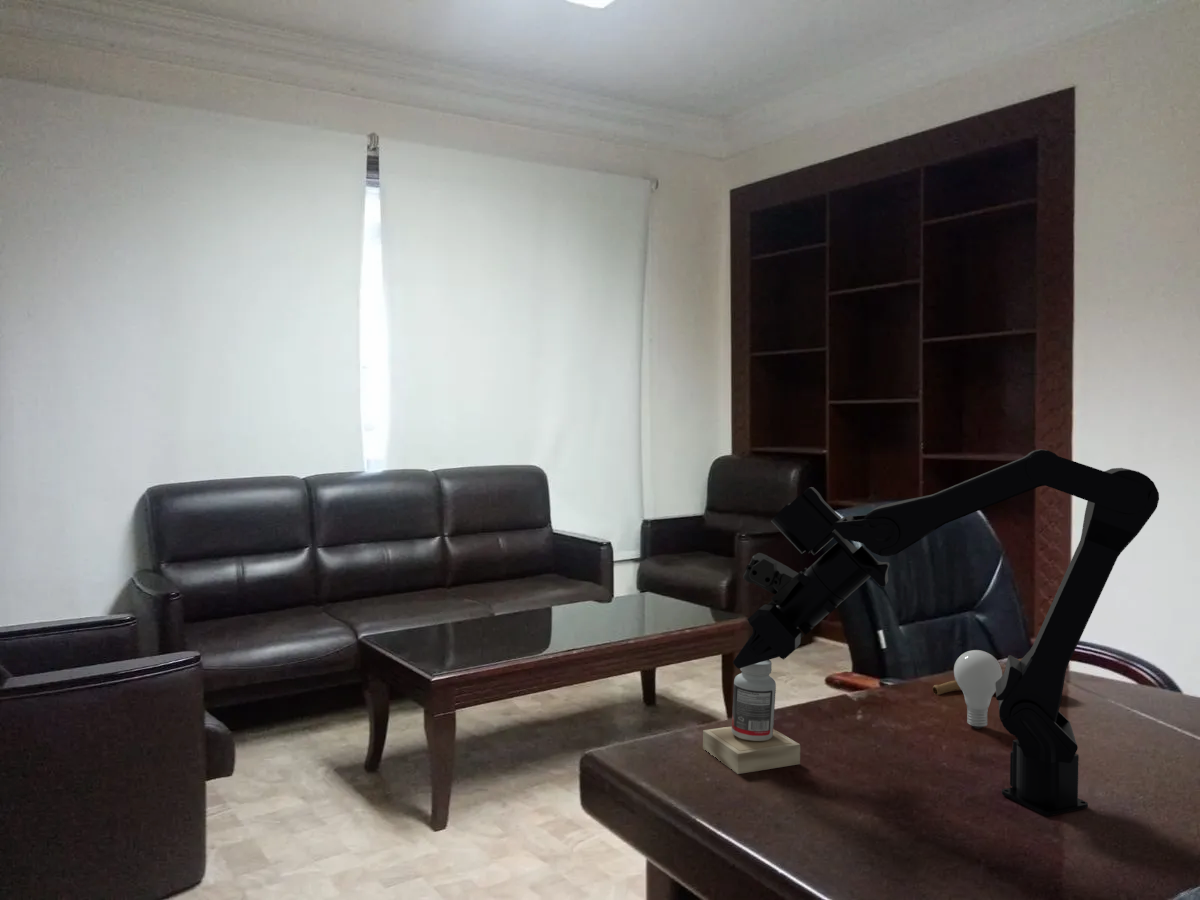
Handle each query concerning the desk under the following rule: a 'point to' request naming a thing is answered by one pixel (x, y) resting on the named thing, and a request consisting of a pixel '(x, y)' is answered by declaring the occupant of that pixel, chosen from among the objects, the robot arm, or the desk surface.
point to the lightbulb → (977, 683)
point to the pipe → (948, 686)
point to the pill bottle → (754, 702)
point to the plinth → (750, 750)
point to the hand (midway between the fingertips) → (740, 660)
